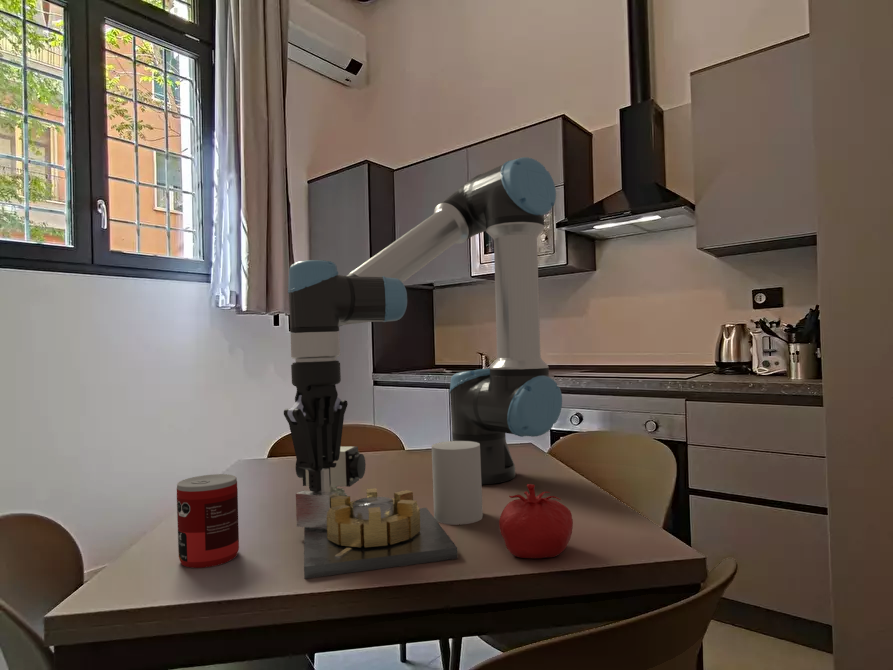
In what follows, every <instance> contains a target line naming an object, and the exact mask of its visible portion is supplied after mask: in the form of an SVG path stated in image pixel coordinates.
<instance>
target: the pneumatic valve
mask: <svg viewBox="0 0 893 670" xmlns="http://www.w3.org/2000/svg"><path fill="white" fill-rule="evenodd" d="M332 453H333V452H332ZM333 463H336V467H334V468H331V467H330V476H331V479H330V480H331V485H330V492H336V493H337V496H348V494H347V493H346V492H345V491H346V490H345V489H344V488H343V487H345V488H346V487H351V486H353V485H355V484H356V483H357V482H358V481H360V479H363V477H364V476H365V473H366V465H367V464H366V457H365V455H364V454H363V453H360V451H359V447H358V446H341V447H340V456H339V460H338V461H334V462H333ZM295 473H296V476H297V478H299V479H300V480H301V481H302V486H303V487H309V472H308V470H305V469H303V468H299V467H298V463H297V459H296V461H295ZM338 487H342V488H338Z"/></svg>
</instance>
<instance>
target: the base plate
mask: <svg viewBox="0 0 893 670" xmlns="http://www.w3.org/2000/svg"><path fill="white" fill-rule="evenodd" d="M353 501H354V502H353V519H364V520H369V512H368V508H374V507H380V511H381V518H386V517H389V516H393V515H394V502H393V499H391V498H390V497H386V496H377V497H368V498H367V497H364V498H359V499H356V500H353ZM419 509H420V531H419V532H418V533H417V534H416V535H415V536H413V537H412V538H409V539H408V540H405V541H401V542H398V543H395V544H391V545H390V544H388V543H387V545H386V546H375V547H364V546H362V547H351V546H341V544H340V545H338V544H336V543H334V542H332V541H330V540H328V539H327V529H320V528H309V527H303V528H304V529H303V535H304V536H303V539H304V540H303V541H304V542H303V576H304V579H312V578H319V577H320V578H321V577H329V576H335V575H342V574H343V575H344V574H350V573H357V572H358V573H359V572H365V571H372V570H373V571H374V570H375V571H376V570H381V569H389V568H397V567H403V566H412V565H418V564H419V565H420V564H426V563H432V562H433V563H435V562H443V561H450V560H457V559H458V558H459V557H458V547H457V545H456V544H455V542H453V540H452V539H451V537H450V536H449V535H448V533H447V532H446V531H445V530H444V528H443V526H442V525H440V522H437V521H436V519H435V518H434V515H433V514H432V513H431V511H430V510H429V509H428V508H427V507H419Z"/></svg>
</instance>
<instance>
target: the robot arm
mask: <svg viewBox="0 0 893 670" xmlns="http://www.w3.org/2000/svg"><path fill="white" fill-rule="evenodd" d="M556 199H557V190H556V185H555V182H554V178H553V177H552V174H551V173H550V171H548V170H547V169H546V167H545V165H544V164H543V163H541V162H540V161H539V160H537V159H534V158H533V157H528V156H524V157H522V156H521V157H519V158H516V159H511V160H508V161H505V162H504V163H503V164H502V165H499V166H496V167H494V168H492V169H489V170H488V171H485V172H482V173H481V174H478V175H476V176H473V177H472V178H470V179H469V180H468V181H466V182H465V183H464V184H463V185H462V186H460V187H459V188H457V189H456V190H455V191H454V192H453V193H451V194H450V195H448V197H446V198H444V200H443V201H441V202H440V203H438V204H437V205H436V206H435V208H434V209H433V214H432V215H430V216H428V217H427V218H426V219H424V220H423V221H422V222H420V223H419V224H418V225H417V224H416V226H414V227H413V228H411V229H410V230H408V231H407V232H406V233H405V234H403V235H401V236H400V237H399V238H397V239H396V240H394V241H393V242H391V243H390V244H389V245H387V246H386V247H385V248H383V249H382V250H380V251H379V252H378V253H376V254H375V255H373V256H372V257H370V258H369V259H367V260H366V261H365V262H363V263H362V264H361V265H358V266H357V268H355V269H353V270H351V272H349V273H348V274H347V275H342V274H339V271H338V266H337V264H336V263H335V262H333V261H329V260H322V259H321V260H320V259H308V260H300V261H296V262H294V263H292V264H291V265H290V266H289V269H288V287H287V288H288V289H287V294H288V307H289V309H288V310H289V325H290V329H289V331H290V352H291V353H290V356H291V357H290V358H291V359H294V360H295V362H294V361H293V362H292V364H291V365H290V368H291V369H290V370H291V371H290V372H291V374H290V375H291V384H292V386H294V387H296V393H295V396H294V401H295V402H294V404H293V405H292V406H291V408H285V409H284V410H283V416H284V417H285V420H286V421H287V423H288V426H289V430H290V431H289V432H290V435H291V439H292V444H293V449H294V453H295V457H296V458H295V459H296V460H297V463H298V467H299V468H303V469H305V470H308V472H309V486H308V489H309V491H314V492H318V491H320V492H330V485H331V480H330V479H331V476H330V467H331V468H334V467H336V463H333V462H334V461H338V460H339V456H340V447H342V436H343V427H344V420H345V413H346V411H347V408H348V401H347V400H346V399H344V400H342V399H340V397H338V395H339V394H338V390H337V388H336V385H338V384H340V382H341V381H342V376H341V362H340V361H339V360H337V358H338V357H340V356H341V344H340V327H342V326H347V325H354V324H355V325H356V324H364V323H371V322H372V323H373V322H375V323H376V322H382V323H386V322H396V321H398V320H399V321H400V319H402V318H403V316H404V315H405V313H406V310H407V306H408V292H407V289H406V287H405V284H404V282H406V281H407V280H408V279H409V278H411V277H412V276H413V275H414V274H417V273H418V272H419V271H420V270H421V269H423V268H424V267H425V266H427V265H428V264H429V263H431V261H433V260H435V258H437V257H439V256H440V255H441V254H443V253H444V252H445V251H446V250H448V249H449V248H451V247H452V246H453V245H458V244H459V245H461V244H463V243H465V242H466V241H468V240H469V239H471V238H472V237H474V236H476V235H479V234H481V233H483V232H485V233H487V234H488V235H489V237H490V238H492V240H493V253H494V254H493V257H494V288H495V289H494V290H495V292H494V293H495V294H494V296H495V328H496V329H495V330H496V331H495V332H496V334H495V335H496V360H495V361H494V362H493V363H492V364H491V365H490V366H489V368H481V369H475V370H467V371H466V370H465V371H460V372H456V373H454V374H453V375H452V376H451V378H450V383H449V395H450V396H449V397H450V417H451V439H452V440H451V441H471V442H477V443H479V444H480V458H481V485H492V484H493V485H494V484H499V483H504V482H505V483H506V482H508V481H511V480H513V479H515V477H516V465H515V462H514V459H513V457H512V454H511V451H510V448H509V445H508V443H507V438H506V437H507V436H506V434H511V435H515V436H518V437H520V438H521V437H522V438H523V437H532V438H533V437H540V436H542V435H543V436H544V435H545V434H547V433H548V432H549V431H550V430H551V429H553V427H554V425H555V424H556V423H557V422H558V420H559V417H560V415H561V412H562V407H563V394H562V390H561V388H560V386H558V383H557V382H556V381H555V380H554V379H553V378H551V377H550V370H549V369H550V367H549V365H548V364H547V363H546V362H545V360H543V359H542V357H541V330H540V328H541V327H540V297H539V294H540V292H539V291H540V289H539V288H540V287H539V259H538V237H539V236H540V234H542V233H543V231H544V230H545V215H547V214H548V213H549V212H550V211H551V210H552V209H553V207H554V205H555V203H556ZM332 452H333V453H332Z"/></svg>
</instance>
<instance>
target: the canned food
mask: <svg viewBox="0 0 893 670" xmlns="http://www.w3.org/2000/svg"><path fill="white" fill-rule="evenodd" d="M238 489H239V488H238V479H237V475H233V474H224V473H222V474H221V473H220V474H219V473H216V474H215V473H214V474H205V475H198V476H192V477H188V478H185V479H182V480H180V481H178V482H177V484H176V514H177V515H176V518H177V541H178V542H177V543H178V544H177V546H178V550H177V551H178V560H179V561H180V564H181V565H182V566H183V567H186V568H192V569H202V568H203V569H204V568H212V567H215V566H220V565H224V564H226V563H229V562H231V561H232V560H234V559H235V558H236V557H237V556H238V553H239V549H240V542H239V541H240V537H239V536H240V535H239V533H240V532H239V496H238V495H239V494H238V491H239V490H238Z"/></svg>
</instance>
